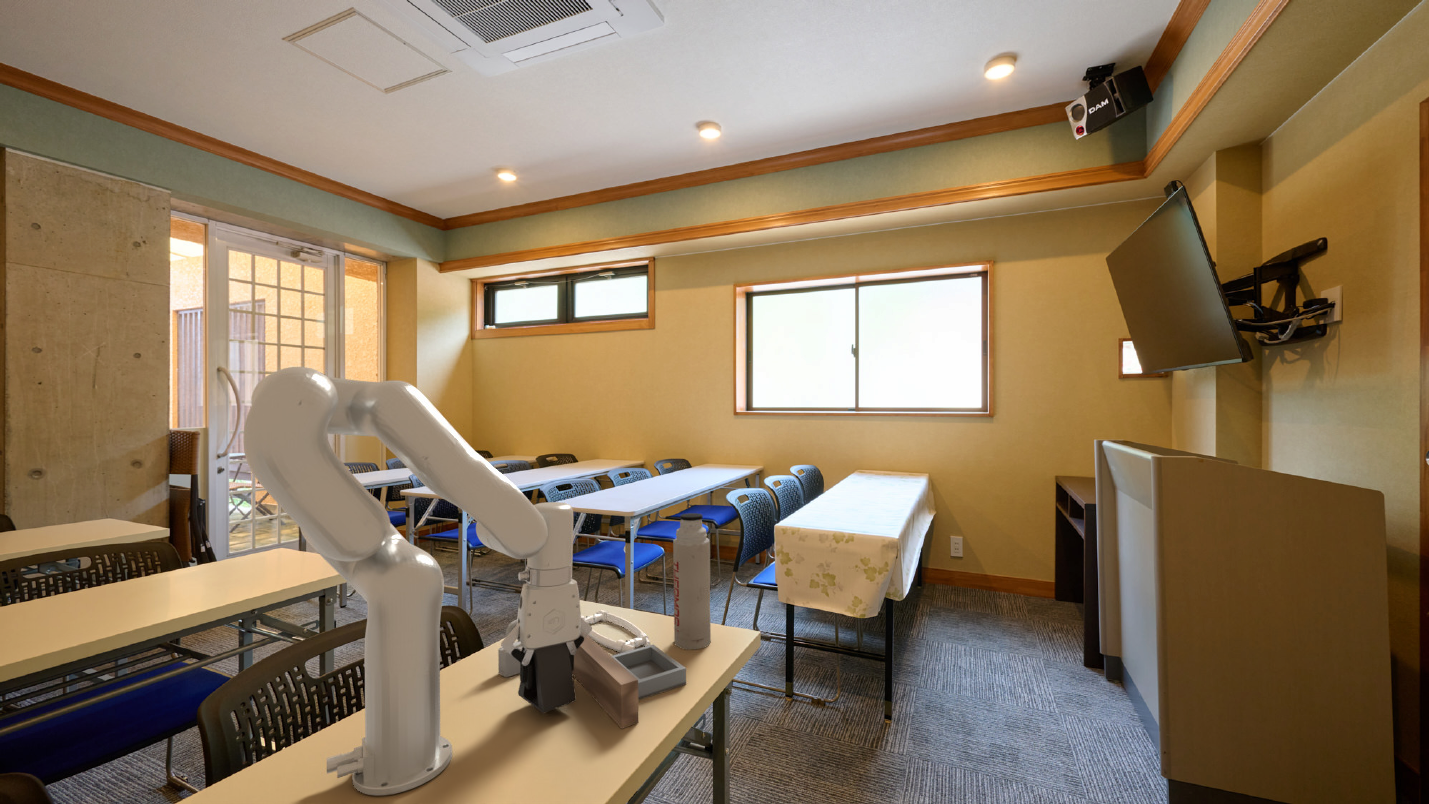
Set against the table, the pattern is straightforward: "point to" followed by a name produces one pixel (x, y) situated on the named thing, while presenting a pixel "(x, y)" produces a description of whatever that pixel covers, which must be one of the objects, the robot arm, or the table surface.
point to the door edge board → (607, 682)
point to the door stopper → (550, 679)
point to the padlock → (509, 657)
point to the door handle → (620, 644)
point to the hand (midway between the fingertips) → (547, 679)
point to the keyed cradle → (652, 670)
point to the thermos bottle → (691, 584)
